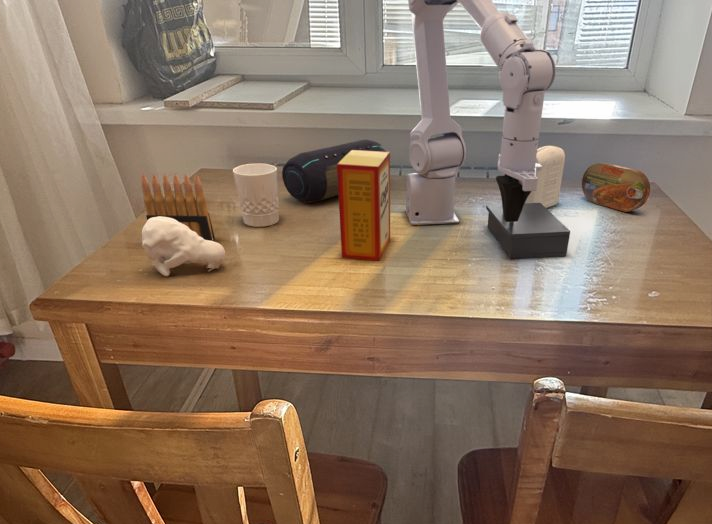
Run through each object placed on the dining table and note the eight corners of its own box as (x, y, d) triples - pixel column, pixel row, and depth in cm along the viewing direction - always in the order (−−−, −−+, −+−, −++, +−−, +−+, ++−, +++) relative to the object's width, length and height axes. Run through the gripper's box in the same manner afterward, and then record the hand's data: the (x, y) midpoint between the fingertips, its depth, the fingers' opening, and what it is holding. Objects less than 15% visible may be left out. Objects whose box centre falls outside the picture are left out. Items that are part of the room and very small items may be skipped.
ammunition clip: (215, 240, 104) (203, 172, 97) (212, 244, 102) (200, 175, 96) (155, 239, 104) (138, 171, 97) (151, 243, 102) (134, 175, 96)
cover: (509, 238, 97) (511, 214, 95) (485, 208, 110) (487, 187, 107) (569, 235, 99) (573, 211, 96) (539, 206, 111) (542, 184, 109)
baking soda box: (355, 237, 106) (351, 147, 98) (390, 239, 106) (389, 149, 97) (341, 257, 98) (336, 162, 90) (379, 260, 98) (377, 164, 89)
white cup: (232, 224, 110) (223, 171, 105) (256, 211, 117) (249, 161, 111) (267, 230, 108) (260, 177, 103) (290, 217, 114) (284, 166, 109)
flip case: (510, 259, 99) (512, 238, 97) (487, 227, 112) (488, 208, 110) (566, 256, 101) (569, 235, 99) (537, 225, 113) (539, 206, 111)
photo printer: (544, 199, 127) (552, 140, 120) (560, 204, 124) (570, 144, 118) (515, 209, 121) (522, 148, 114) (532, 215, 118) (540, 153, 112)
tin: (578, 198, 128) (584, 159, 123) (586, 195, 130) (593, 157, 125) (638, 216, 118) (648, 175, 114) (647, 213, 120) (656, 172, 116)
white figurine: (147, 209, 91) (226, 216, 92) (154, 259, 95) (229, 265, 97) (134, 224, 86) (218, 230, 87) (142, 276, 90) (222, 281, 92)
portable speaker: (309, 211, 117) (305, 161, 112) (279, 200, 123) (274, 152, 118) (395, 185, 133) (395, 140, 128) (366, 176, 139) (364, 133, 133)
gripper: (561, 148, 85) (548, 235, 93) (529, 126, 97) (520, 205, 105) (515, 149, 84) (506, 237, 92) (489, 127, 96) (482, 206, 104)
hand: (510, 220), depth 98 cm, fingers closed
